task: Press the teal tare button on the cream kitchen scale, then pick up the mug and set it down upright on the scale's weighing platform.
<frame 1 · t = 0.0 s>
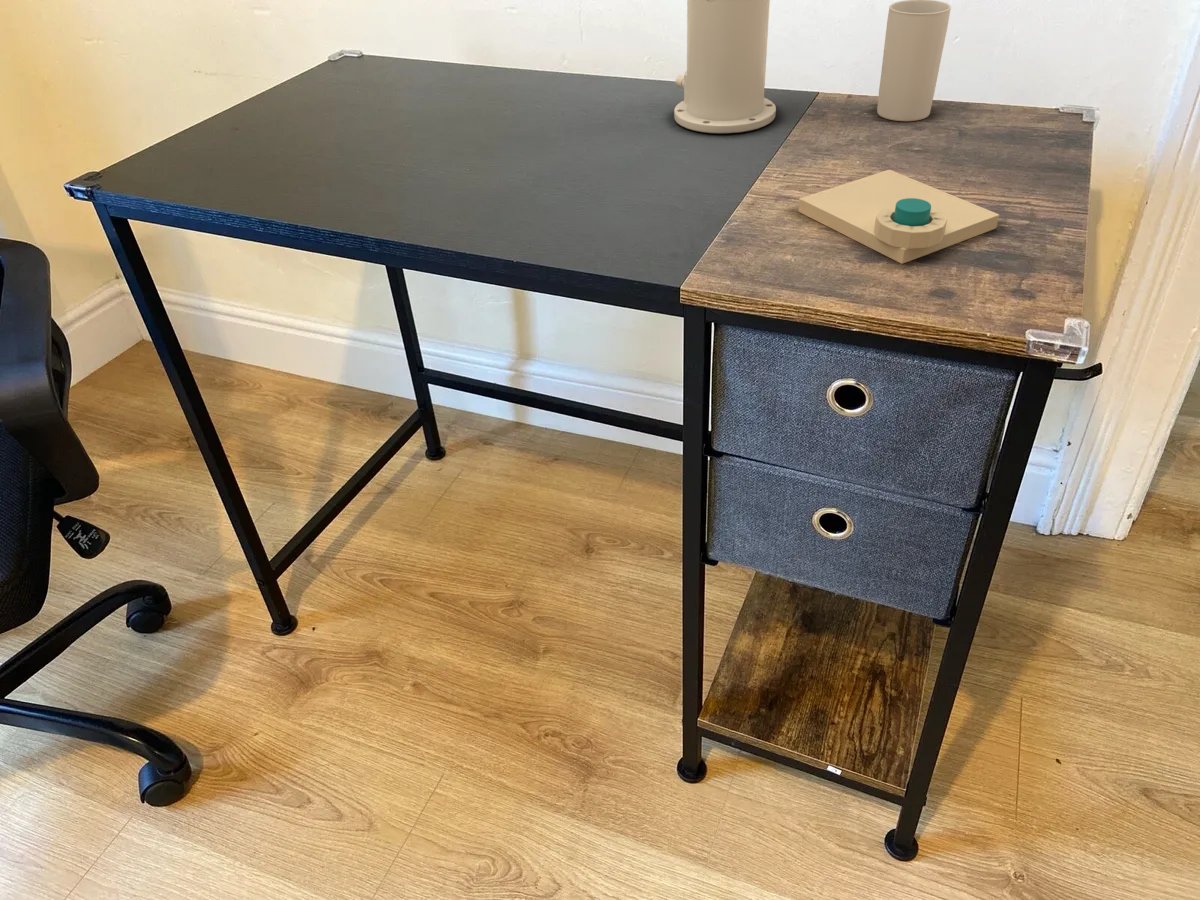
tare button: (912, 213, 78), point 3 cm above the table, slide at 0.1 cm
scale: (894, 219, 85), on the table
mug: (906, 110, 109), on the table
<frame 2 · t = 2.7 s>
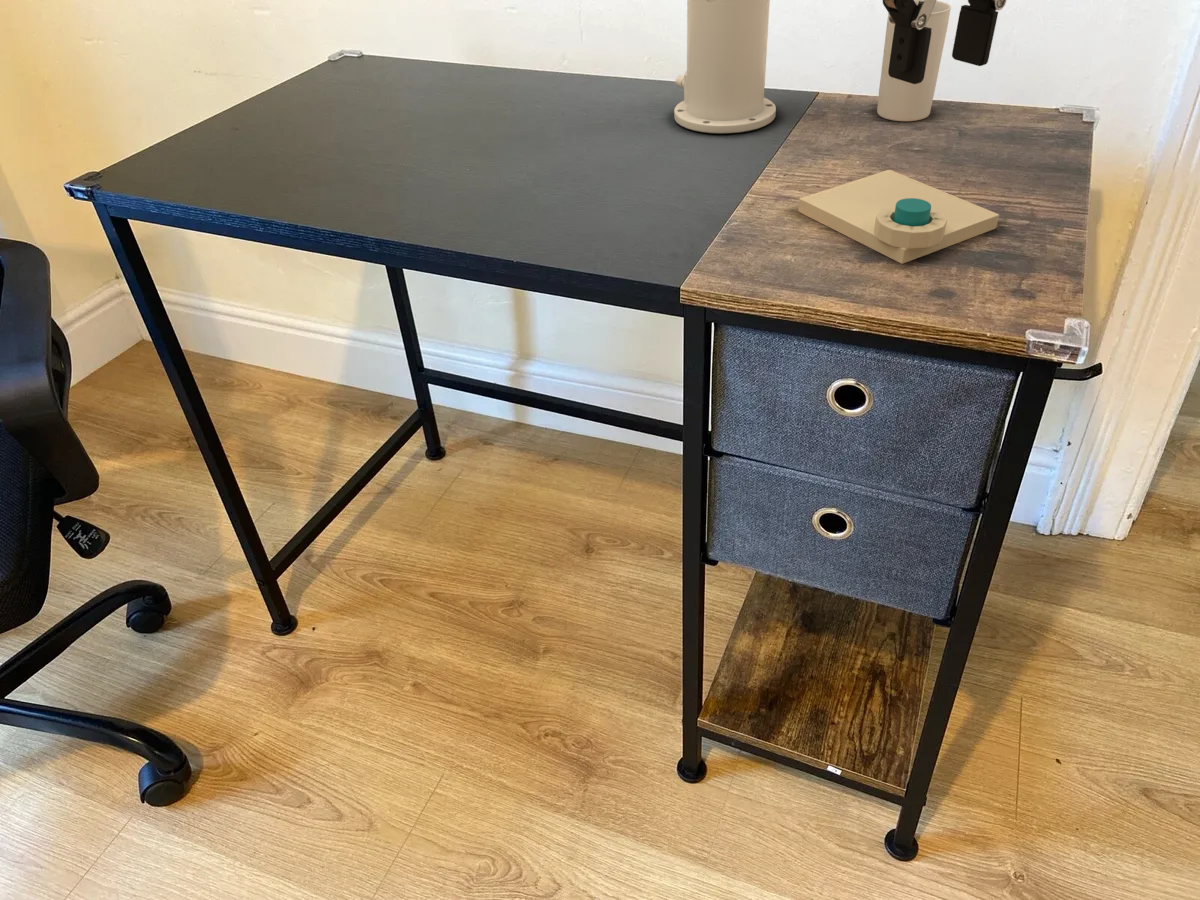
hand: (937, 68, 70), 16 cm above the table, tool pointing down, fingers open, 6 cm apart
nothing on the table moved.
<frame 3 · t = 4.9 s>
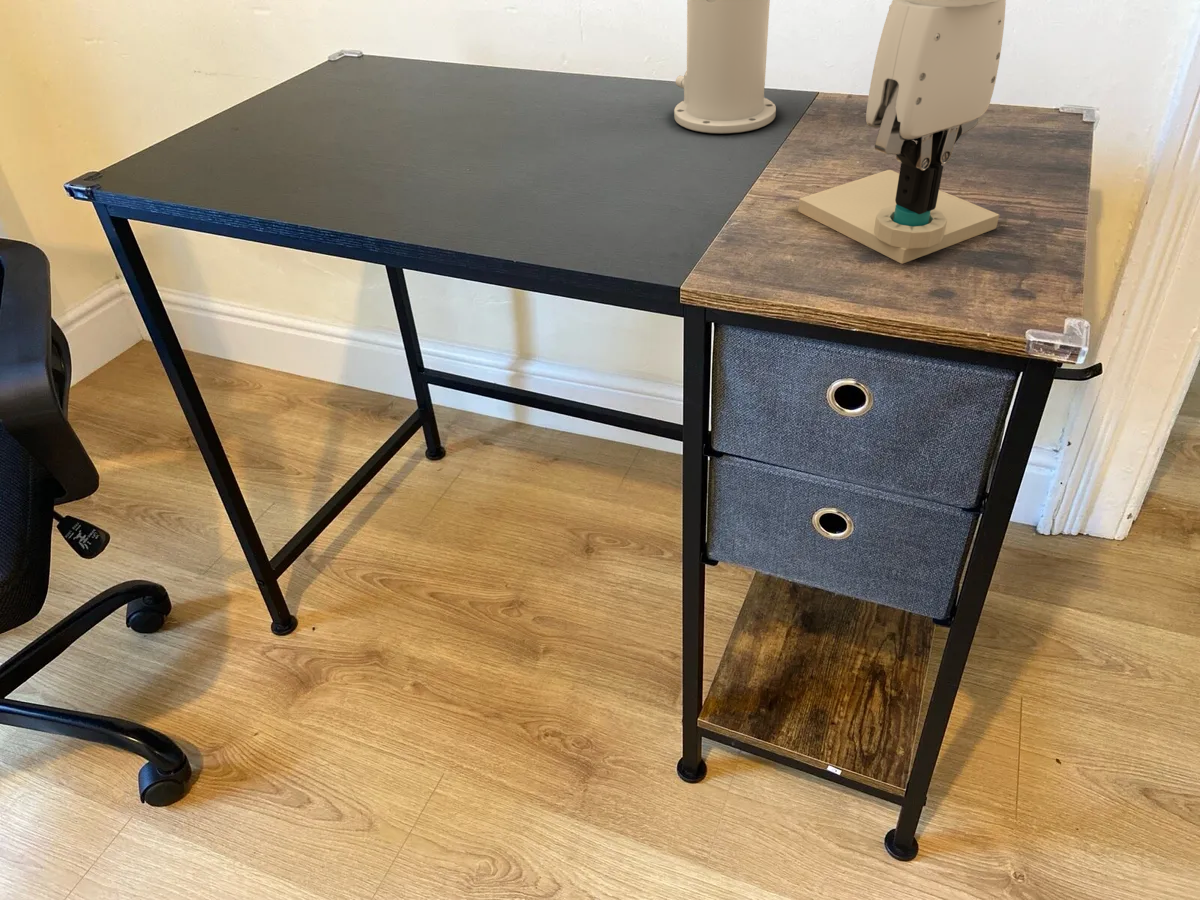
hand: (914, 206, 77), 4 cm above the table, tool pointing down, fingers closed
tare button: (911, 214, 78), point 3 cm above the table, slide at 0.0 cm, touching gripper
everything else where it was.
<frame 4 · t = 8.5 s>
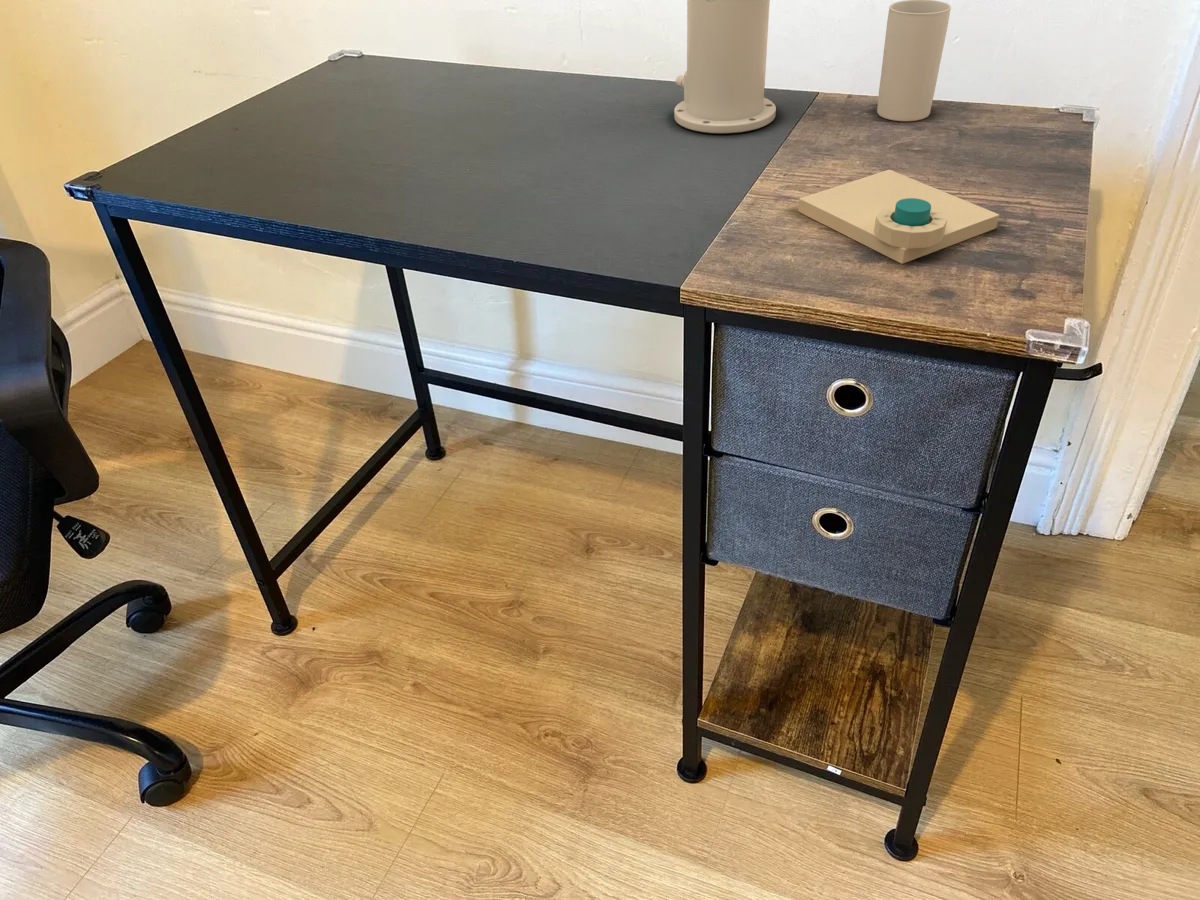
tare button: (912, 213, 78), point 3 cm above the table, slide at 0.1 cm
everything else where it was.
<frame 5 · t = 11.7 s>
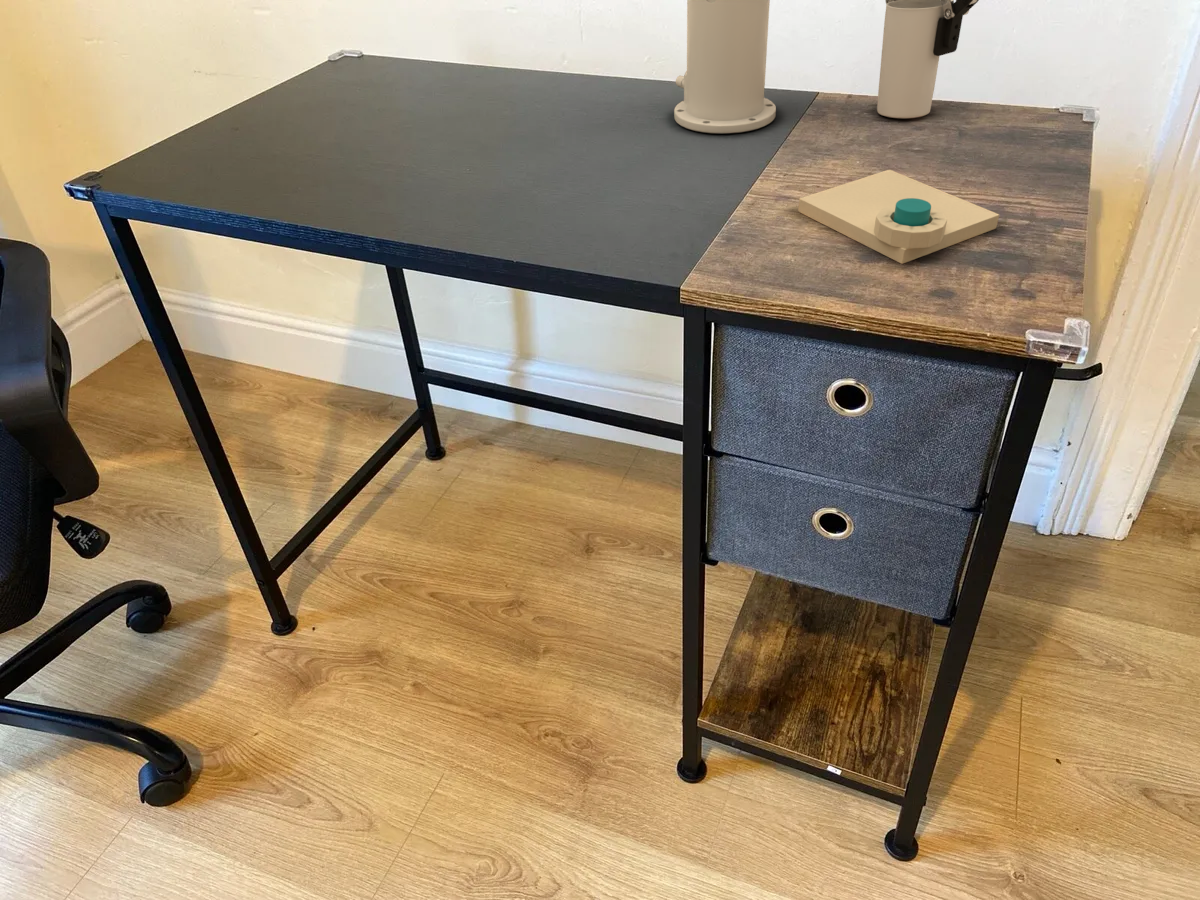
hand: (919, 45, 104), 7 cm above the table, tool pointing down, fingers closed on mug, 6 cm apart
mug: (906, 110, 109), on the table, touching gripper
everything else where it was.
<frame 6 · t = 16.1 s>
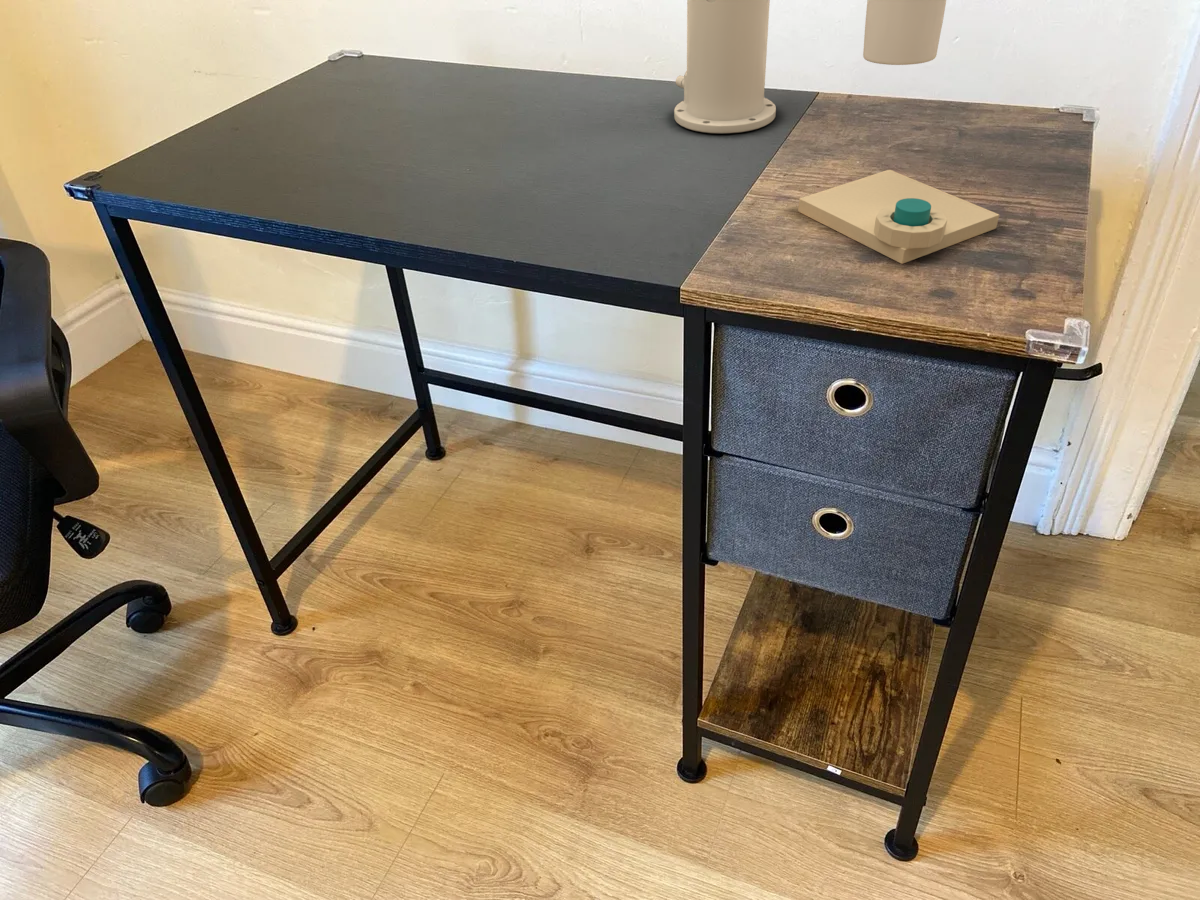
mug: (903, 56, 79), point 14 cm above the table, touching gripper
everything else where it was.
when the fingers open (9 cm above the table, at t = 20.3 s): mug stays where it is, resting on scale.
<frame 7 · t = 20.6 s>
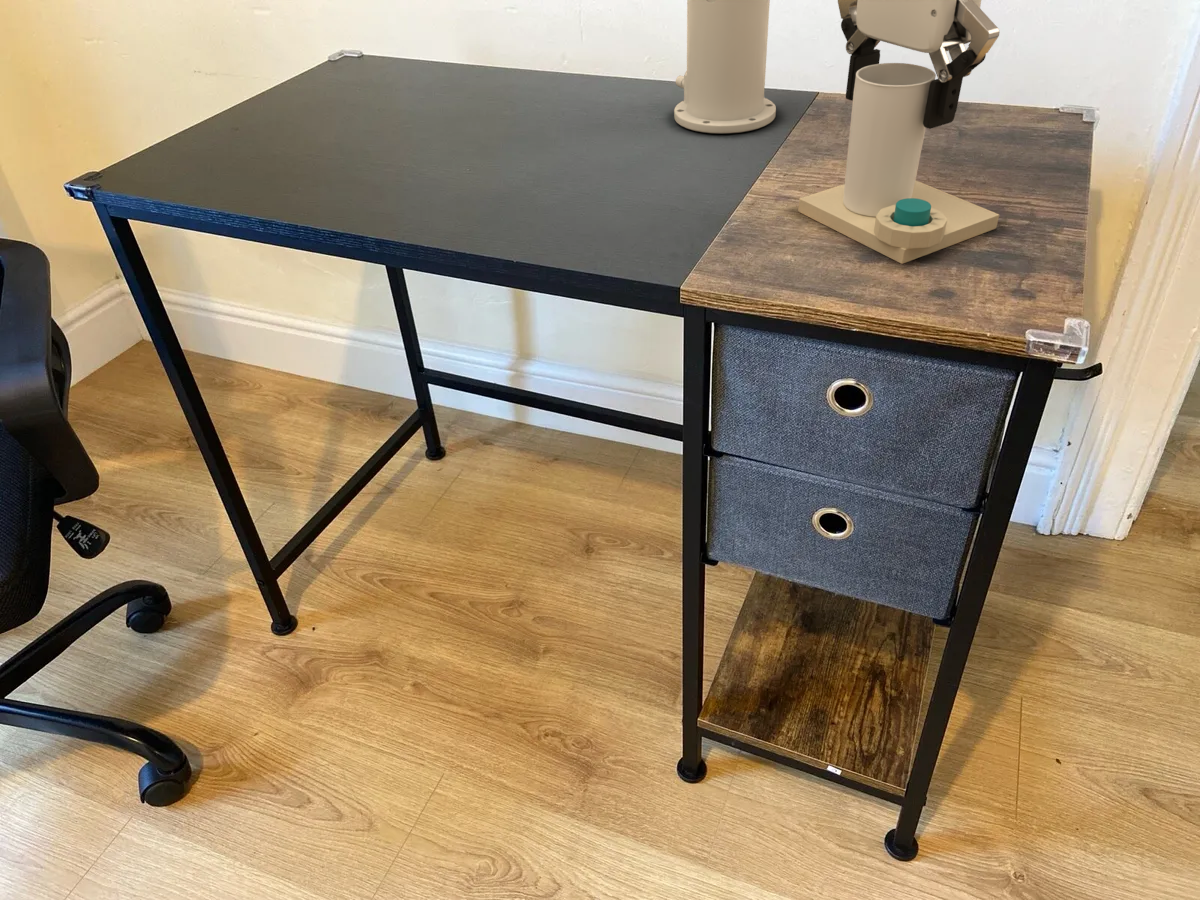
hand: (897, 110, 80), 10 cm above the table, tool pointing down, fingers open, 9 cm apart
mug: (880, 199, 86), point 1 cm above the table, touching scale
everything else where it was.
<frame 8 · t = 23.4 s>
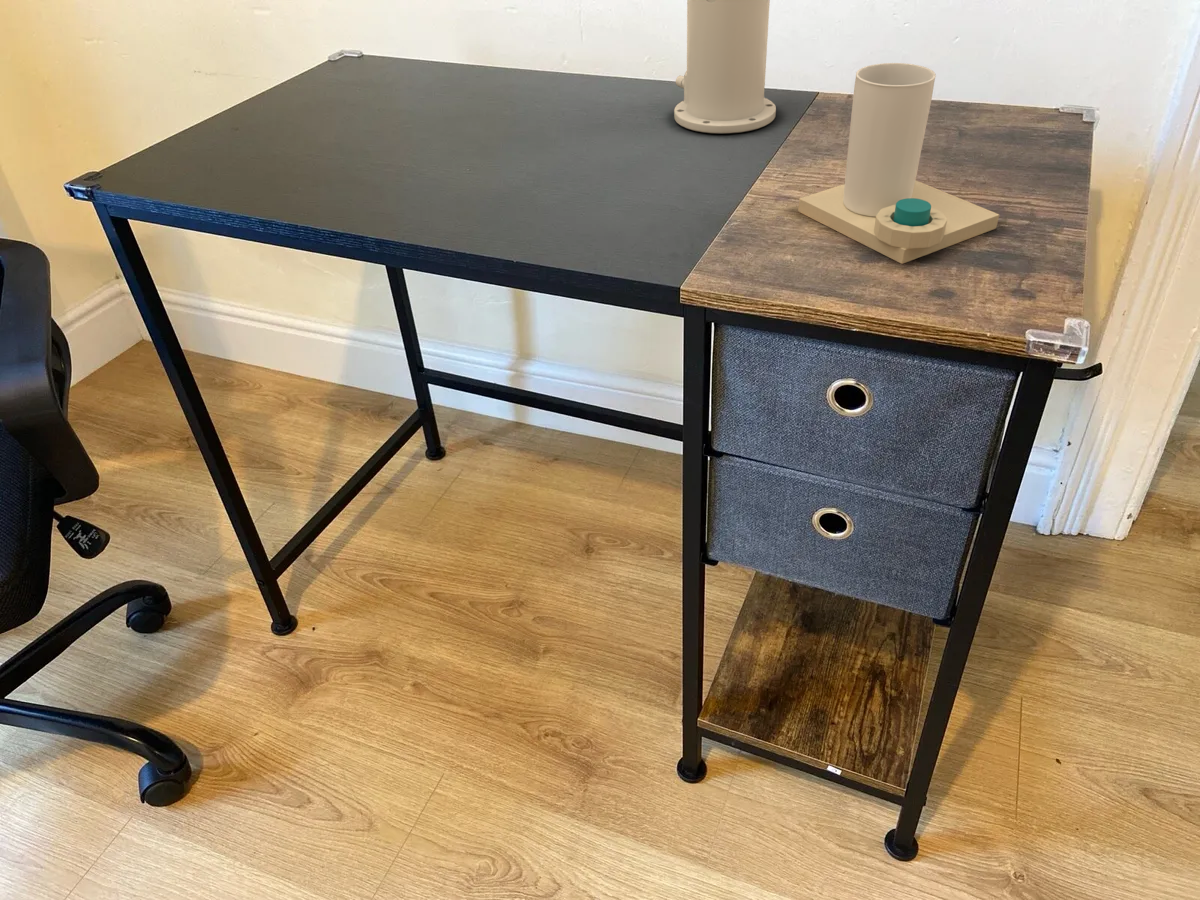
nothing on the table moved.
at the end: tare button pushed in 0.9 cm at the most during the clip, back to where it started at the end; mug 0.5 cm from the target spot on the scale, point 1.2 cm above the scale's base; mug tilted 0° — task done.
